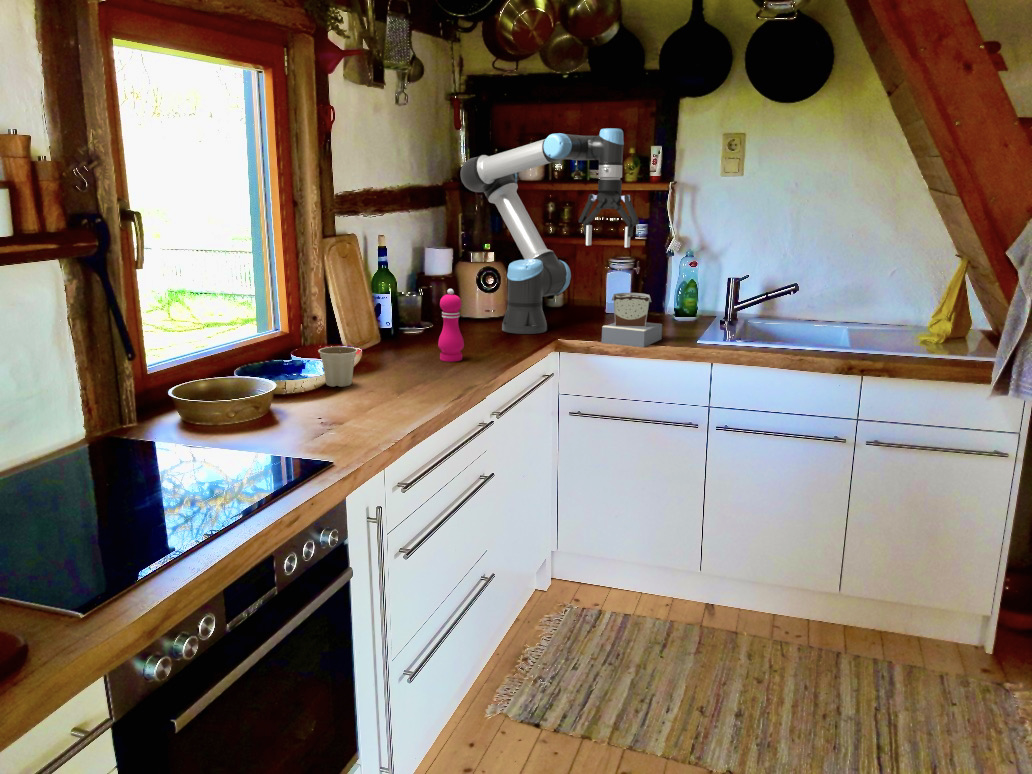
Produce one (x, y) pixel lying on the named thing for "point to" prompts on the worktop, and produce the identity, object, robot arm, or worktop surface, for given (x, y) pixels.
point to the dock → (632, 334)
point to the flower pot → (338, 365)
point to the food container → (630, 309)
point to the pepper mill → (450, 328)
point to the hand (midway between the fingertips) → (607, 246)
